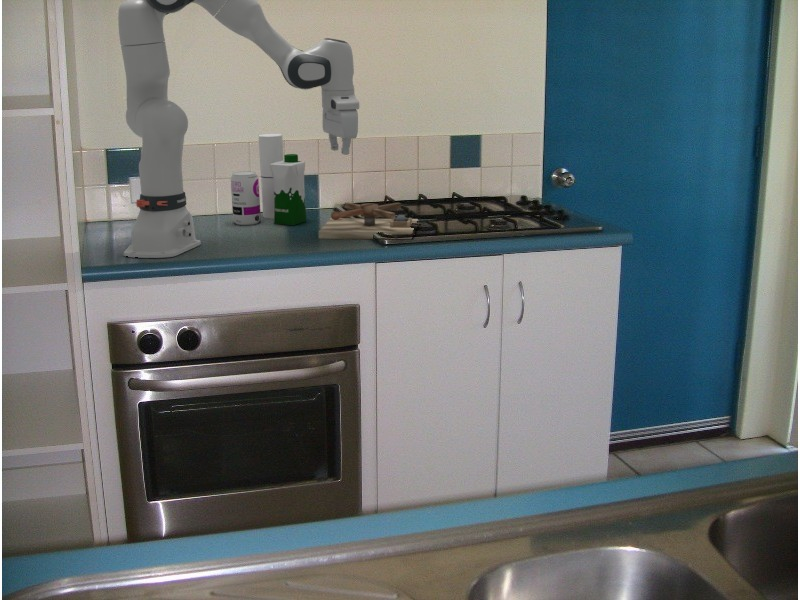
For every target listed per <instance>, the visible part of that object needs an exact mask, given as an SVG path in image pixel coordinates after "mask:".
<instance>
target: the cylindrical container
mask: <svg viewBox="0 0 800 600" xmlns="http://www.w3.org/2000/svg"><path fill="white" fill-rule="evenodd" d="M283 142H284V141H283V134H281V133H263V134H259V135H258V148H259V149H258V150H259V165H260V183H261V187H260V188H261V200H262V201H261V203H262V216H263V218H264V219H270V220H271V219H273V220H274V207H275V206H274V187H273V176H272V172H271V168H270V164H273V163H275V162H280V161H284V146H283V145H284V144H283Z"/></svg>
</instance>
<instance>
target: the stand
mask: <svg viewBox="0 0 800 600" xmlns="http://www.w3.org/2000/svg"><path fill="white" fill-rule="evenodd" d="M396 218H397V217H395V218H393V219H390V218H376V217H363V218H349V217H344V218H339V219H338V220H333V219H332V218H331V217H330V218H329V219H328V221H327V222H326V223H325V224H323V226H322V227H321V228H320V229H319V230H318V239H333V240H334V239H335V240H337V239H338V240H339V239H341V240H343V239H345V240H348V239H349V240H374V239H373V234H374V233H378V232H379V233H380V232H384V233H391V234H412V233H413V230H414V228H411V227H410V226H411V224H412V223H417V221H418V222H419V219H418V218H413V217H406V221H396Z"/></svg>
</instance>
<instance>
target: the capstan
mask: <svg viewBox="0 0 800 600" xmlns="http://www.w3.org/2000/svg"><path fill="white" fill-rule="evenodd" d="M344 208H345V209H349V210H344V211H336V210H335V211H332V212H331V214H330V218H332V219H333V220H338V219H339V218H349V217H354V216H361V218H364V217H375V218H376V217H378V216H379V217H382V218H385V219H393V218H396V213H395V212H392V211H391V210H397V209H402V203H401V202H393V203H386V204H382V205H381V204H378V203H373V202H372V203H369V202H368V203H362V204H358V203H354V202H350V201H348V202H344Z"/></svg>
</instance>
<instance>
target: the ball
mask: <svg viewBox="0 0 800 600" xmlns="http://www.w3.org/2000/svg"><path fill="white" fill-rule="evenodd" d="M395 218H396V221H406V218H407V217H406V216H405V215H403V214H398V215H397V216H396V217H395Z"/></svg>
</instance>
